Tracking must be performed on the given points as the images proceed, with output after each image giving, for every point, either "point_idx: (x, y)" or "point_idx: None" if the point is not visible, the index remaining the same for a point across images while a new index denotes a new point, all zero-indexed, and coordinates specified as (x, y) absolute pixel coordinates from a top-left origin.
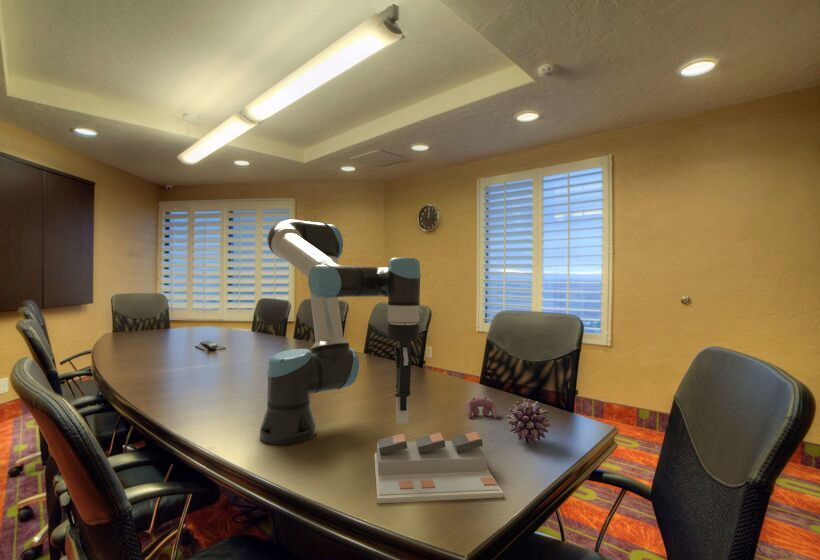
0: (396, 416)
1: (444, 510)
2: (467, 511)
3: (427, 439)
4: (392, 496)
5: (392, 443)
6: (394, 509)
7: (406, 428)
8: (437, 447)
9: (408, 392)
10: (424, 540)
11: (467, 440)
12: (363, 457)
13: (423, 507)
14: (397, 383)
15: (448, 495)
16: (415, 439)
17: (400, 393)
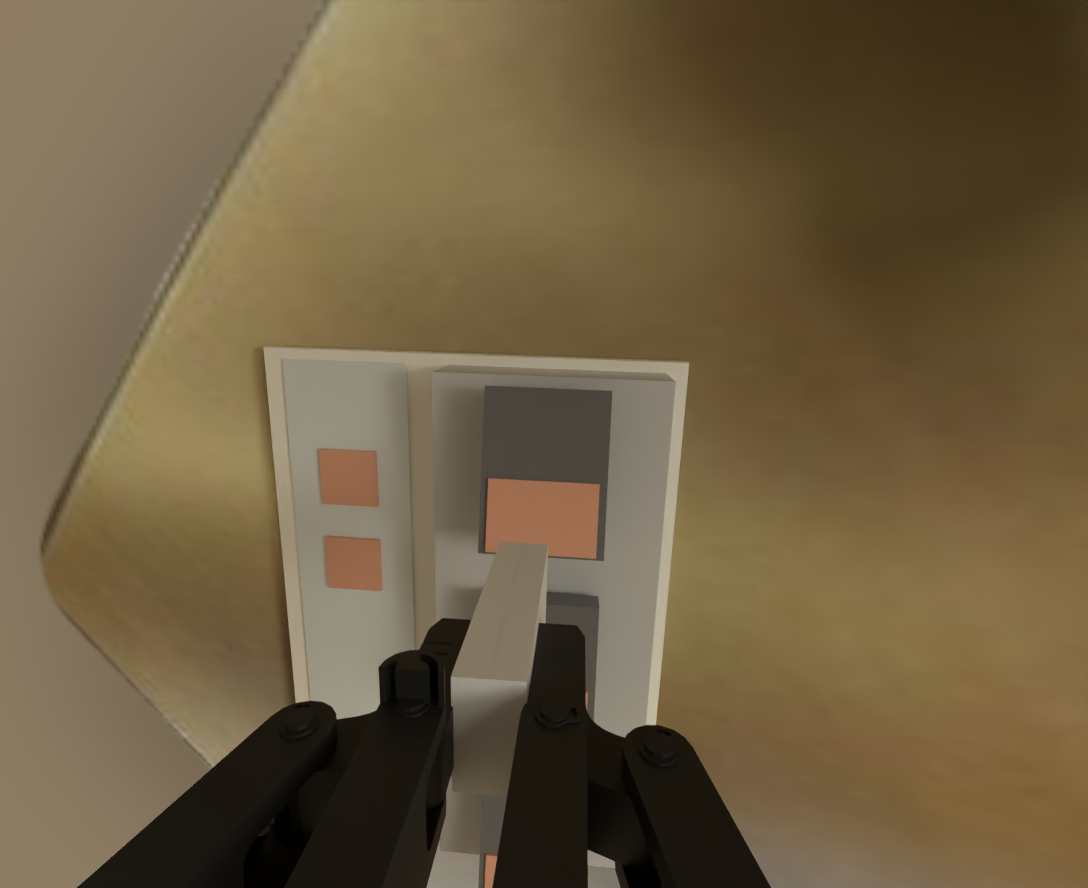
0: (535, 563)
1: (237, 579)
2: (233, 648)
3: None
4: (277, 410)
5: (502, 470)
6: (239, 408)
7: (1041, 582)
8: None
9: (259, 838)
10: (83, 481)
11: None
12: (694, 300)
13: (253, 514)
14: (505, 806)
15: (289, 617)
16: (585, 607)
17: (257, 742)
